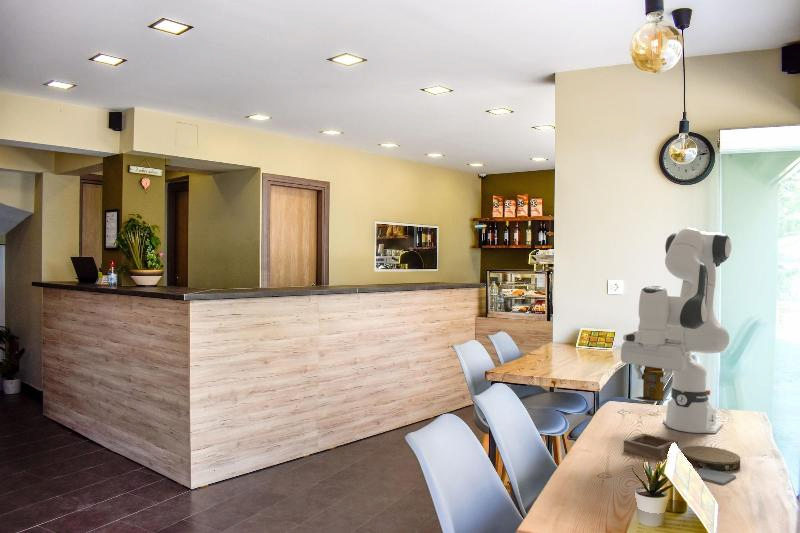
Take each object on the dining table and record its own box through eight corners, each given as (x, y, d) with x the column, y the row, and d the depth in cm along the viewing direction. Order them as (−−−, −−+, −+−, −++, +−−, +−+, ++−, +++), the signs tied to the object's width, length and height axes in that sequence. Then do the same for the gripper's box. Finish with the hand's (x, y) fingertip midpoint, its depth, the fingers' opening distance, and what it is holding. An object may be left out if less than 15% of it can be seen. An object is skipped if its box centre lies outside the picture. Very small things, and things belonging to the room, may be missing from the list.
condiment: (669, 400, 199) (670, 362, 199) (653, 402, 194) (654, 363, 194) (648, 396, 205) (649, 359, 205) (632, 398, 200) (633, 360, 200)
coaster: (703, 469, 184) (703, 467, 184) (735, 477, 177) (736, 475, 177) (689, 476, 178) (689, 474, 178) (722, 485, 171) (723, 482, 171)
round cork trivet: (735, 459, 195) (735, 449, 195) (744, 475, 180) (745, 465, 180) (679, 453, 200) (680, 443, 200) (684, 468, 185) (684, 458, 185)
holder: (643, 444, 208) (643, 433, 208) (677, 452, 200) (677, 441, 199) (623, 451, 200) (623, 440, 200) (659, 460, 191) (659, 449, 191)
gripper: (690, 340, 193) (689, 385, 194) (628, 333, 209) (627, 375, 209) (681, 342, 189) (680, 387, 190) (618, 335, 205) (617, 377, 205)
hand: (652, 381), depth 199 cm, fingers closed on condiment, 6 cm apart
